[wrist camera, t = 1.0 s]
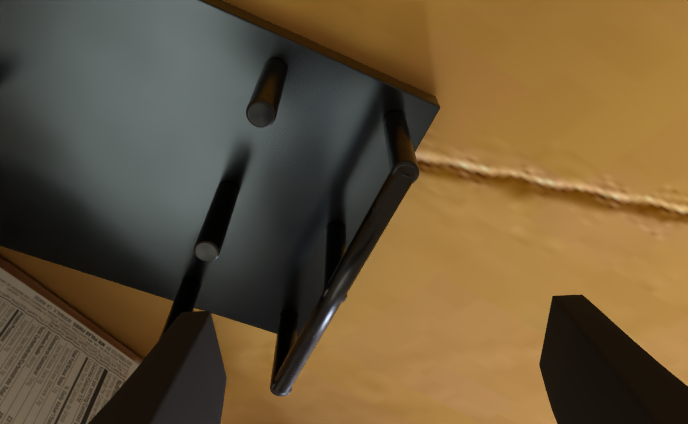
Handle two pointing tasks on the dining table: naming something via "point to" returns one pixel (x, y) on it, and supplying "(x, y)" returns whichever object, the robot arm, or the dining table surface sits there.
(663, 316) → the dining table surface
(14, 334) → the tin
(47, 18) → the rack
